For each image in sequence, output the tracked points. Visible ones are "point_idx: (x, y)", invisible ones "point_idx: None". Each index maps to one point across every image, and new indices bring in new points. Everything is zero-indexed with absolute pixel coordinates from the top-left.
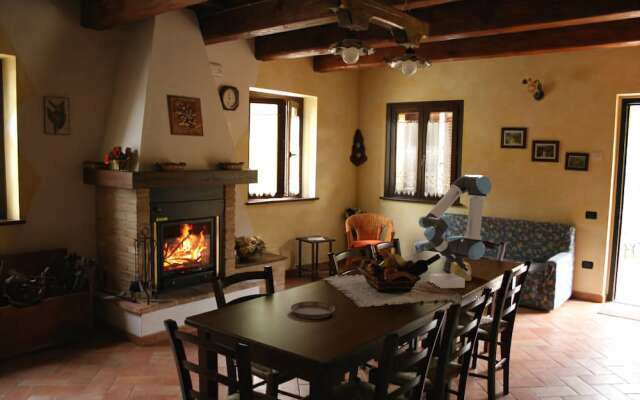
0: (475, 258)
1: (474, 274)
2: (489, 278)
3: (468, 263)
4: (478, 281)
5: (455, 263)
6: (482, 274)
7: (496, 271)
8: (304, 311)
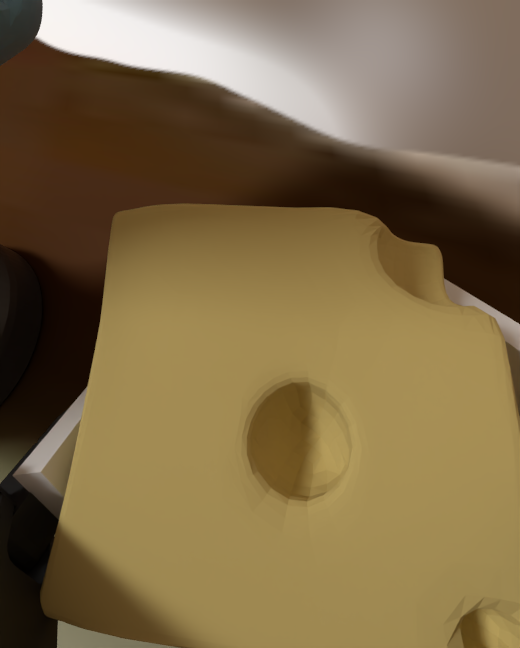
0: (41, 7)
1: (116, 212)
2: (261, 133)
3: (272, 215)
4: None
5: (284, 603)
6: (123, 155)
7: (54, 62)
8: None
